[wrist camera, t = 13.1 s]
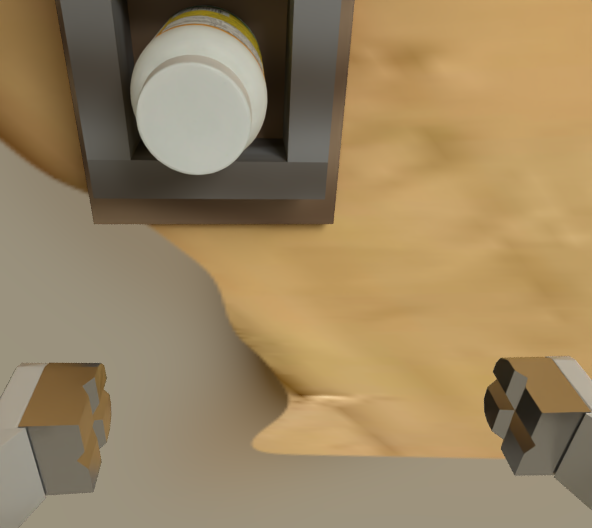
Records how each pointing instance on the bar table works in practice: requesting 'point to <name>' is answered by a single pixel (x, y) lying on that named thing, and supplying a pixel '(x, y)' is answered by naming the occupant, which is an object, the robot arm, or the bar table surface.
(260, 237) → the bar table surface
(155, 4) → the holder stand
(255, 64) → the supplement bottle
